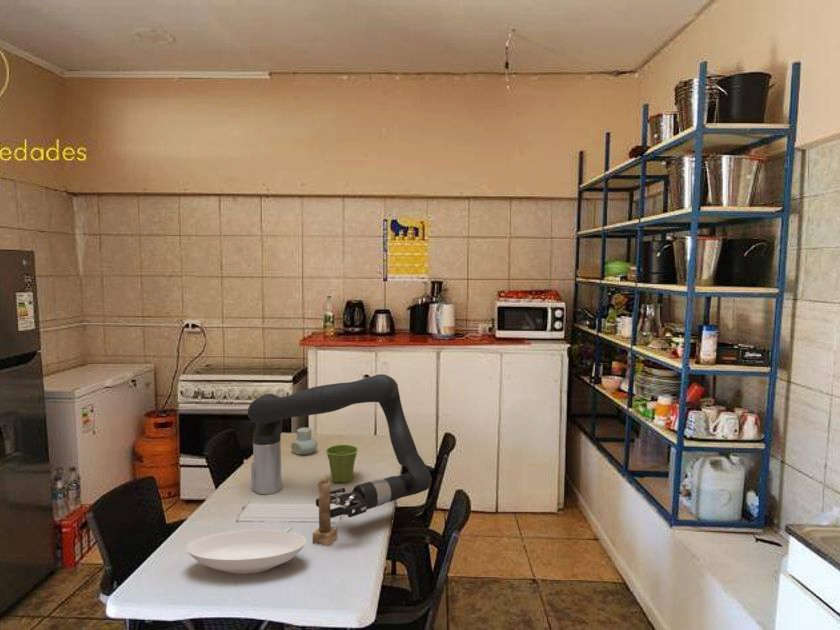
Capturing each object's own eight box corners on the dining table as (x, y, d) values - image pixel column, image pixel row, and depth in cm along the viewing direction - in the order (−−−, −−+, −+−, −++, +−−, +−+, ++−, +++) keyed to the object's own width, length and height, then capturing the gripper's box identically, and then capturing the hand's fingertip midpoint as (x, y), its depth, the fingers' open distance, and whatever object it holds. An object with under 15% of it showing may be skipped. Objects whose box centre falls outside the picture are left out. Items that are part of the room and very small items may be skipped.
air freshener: (320, 453, 223) (320, 429, 222) (304, 458, 217) (303, 434, 216) (304, 447, 230) (304, 424, 230) (288, 452, 224) (288, 429, 223)
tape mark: (277, 536, 153) (277, 536, 153) (289, 527, 158) (289, 526, 158) (280, 537, 152) (280, 536, 152) (292, 527, 158) (292, 527, 158)
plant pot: (348, 487, 187) (348, 456, 186) (319, 483, 192) (319, 452, 191) (364, 476, 198) (364, 446, 197) (336, 471, 203) (336, 442, 202)
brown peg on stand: (312, 543, 149) (311, 480, 148) (322, 534, 154) (321, 473, 153) (328, 546, 148) (327, 482, 146) (337, 537, 153) (337, 475, 151)
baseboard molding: (338, 526, 160) (344, 509, 172) (338, 517, 160) (344, 500, 172) (235, 525, 161) (249, 508, 173) (235, 516, 161) (249, 499, 173)
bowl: (177, 586, 129) (176, 562, 129) (198, 553, 144) (197, 531, 144) (302, 581, 131) (301, 557, 131) (310, 549, 146) (310, 528, 146)
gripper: (360, 474, 165) (311, 487, 155) (385, 489, 153) (334, 504, 144) (360, 498, 165) (312, 512, 156) (385, 515, 154) (334, 531, 144)
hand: (322, 508), depth 150 cm, fingers open, 8 cm apart
